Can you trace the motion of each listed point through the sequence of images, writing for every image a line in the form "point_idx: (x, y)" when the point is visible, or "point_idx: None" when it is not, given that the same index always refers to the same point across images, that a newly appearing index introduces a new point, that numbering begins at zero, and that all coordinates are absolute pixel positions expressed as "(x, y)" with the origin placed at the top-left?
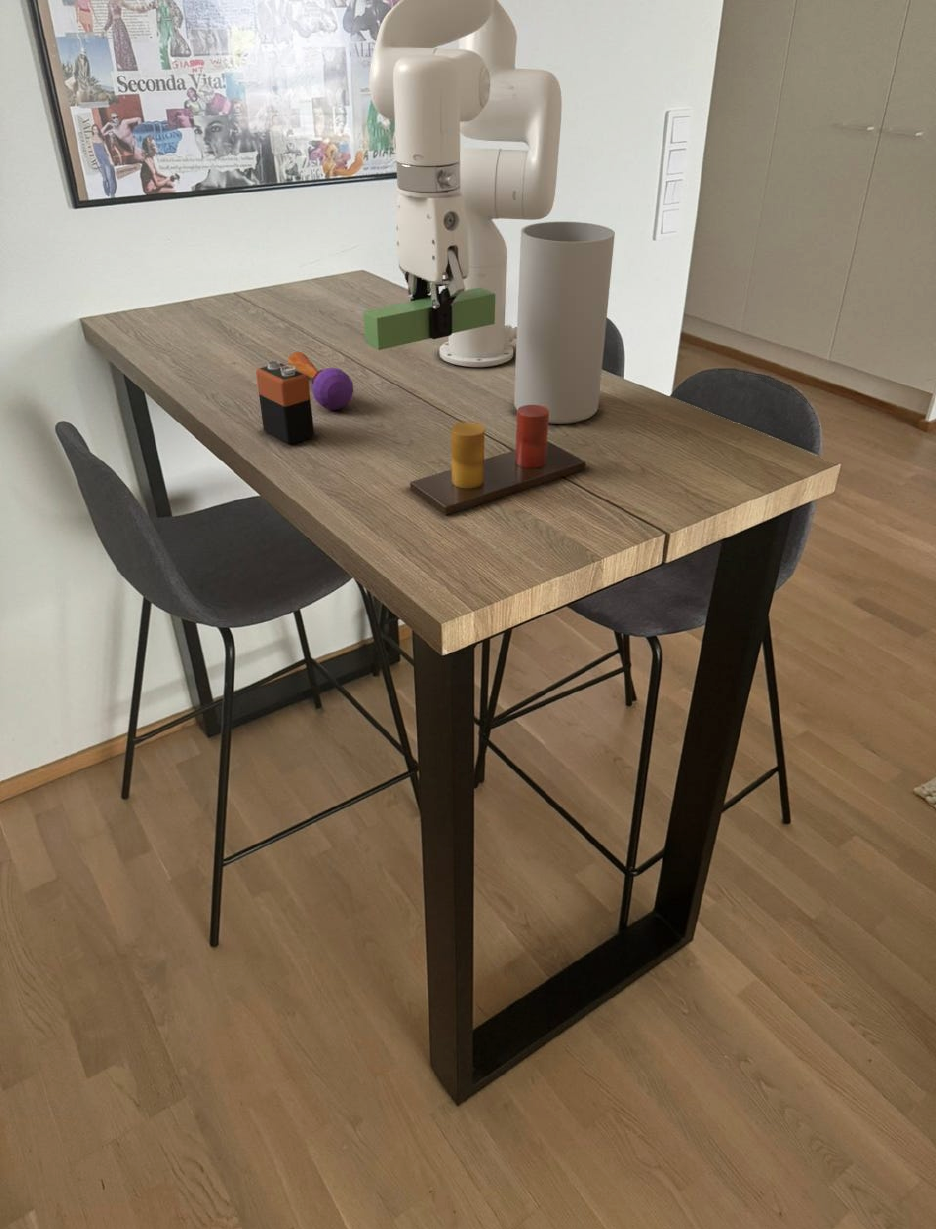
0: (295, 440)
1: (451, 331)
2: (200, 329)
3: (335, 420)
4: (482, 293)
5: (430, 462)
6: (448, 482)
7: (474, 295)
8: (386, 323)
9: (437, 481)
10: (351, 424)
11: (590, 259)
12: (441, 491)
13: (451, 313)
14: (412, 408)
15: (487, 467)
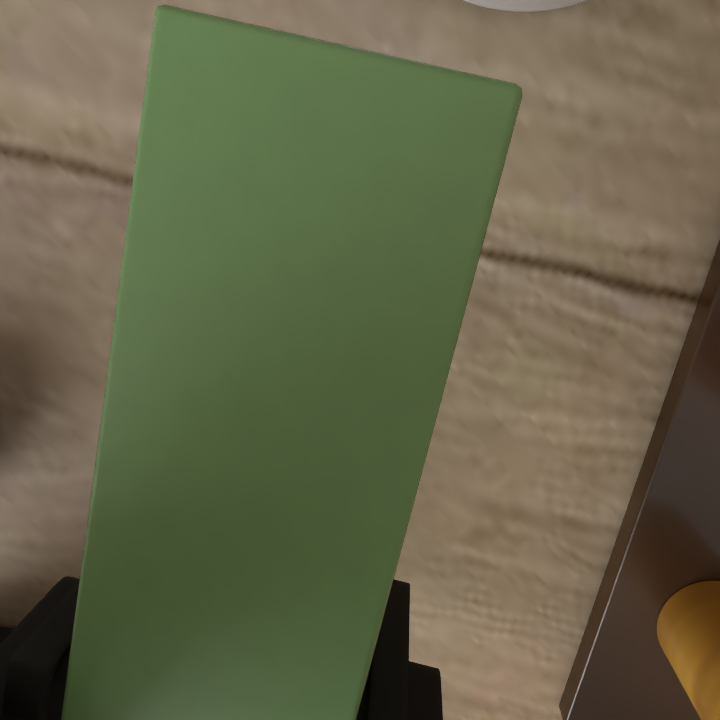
0: None
1: (405, 594)
2: None
3: (12, 507)
4: (381, 214)
5: (474, 539)
6: (662, 664)
7: (361, 351)
8: None
9: (630, 678)
10: (72, 496)
11: None
12: (683, 717)
13: (406, 695)
14: (99, 254)
15: (701, 514)
